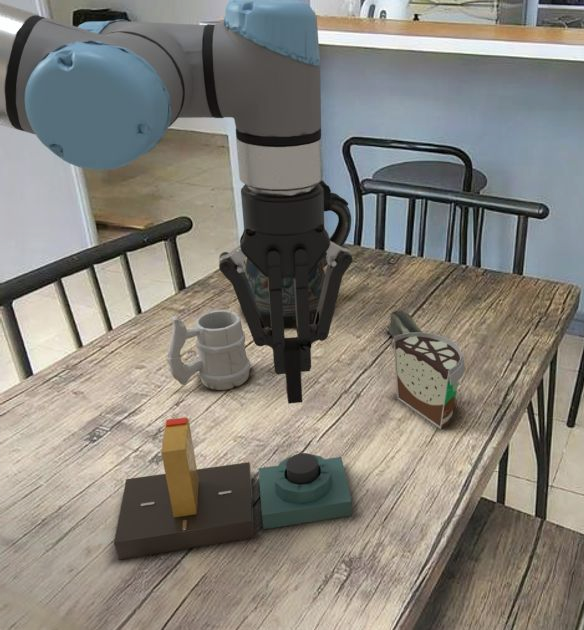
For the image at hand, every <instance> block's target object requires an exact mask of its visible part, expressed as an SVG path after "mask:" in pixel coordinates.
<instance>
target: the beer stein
mask: <svg viewBox="0 0 584 630" xmlns="http://www.w3.org/2000/svg"><path fill="white" fill-rule="evenodd" d="M319 184H320V185H321V186H322V187H323V195H324V213H325V212H329V211H330V212H333V213H335V215H337V218H338V220H337V221H338V222H337V225H336V226H335V230H334V232H333V233H332V235H331V236H330V237H329V238H330V241H331V242H333V243H335V244H337V245H339V246H341V245H345V243H346V241H347V240H348V237H349V235H350V231H351V228H352V215H351V214H352V213H351V210H350V208H349V203H348V201H347V200H346V199H345V198H343V197H341V196H339V194H337V193H335V192H332V190H331V188H330V186H329V185H327V184H326V183H325V181H324V180H323V179H322V180H321V181H320V182H319ZM326 256H327V253H325V254H324V255H323V257H322V258H321V259H320V261H319V262H318V264H317V265H316V266H315V268H314V269H313V271H312V272H311V273H310V274H308V284H309V288H308V294H309V316H310V325H312V324H314V321H315V317H316V312H317V308H318V304H319V299H320V295H321V291H322V287H323V282H324V278H325V274H326V271H325V269H324V268H325V267H327V266H328V264H327V261H326ZM245 263H246V269H245V271H244V272H245V275H246V277H247V280H248V283H249V285H250V288H251V291H252V294H253V296H254V299H255V302H256V304H257V307H258V310H259V313H260V315H261V318H262V321H263V324H264V326H265V328H271V318H270V303H269V289H268V277H266V276H264V275H263V274H262V273H261V272H260V271H259V270H258V269H257V268H256V267H255V266H254V264H253V263H252V262H251V261H250V260H249V259H248V258H247V257H246V260H245ZM281 281H282V302H283V319H284V329H293V328H297V326H296V309H295V291H294V278H285V279H282V280H281Z"/></svg>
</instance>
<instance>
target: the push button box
mask: <svg viewBox="0 0 584 630" xmlns="http://www.w3.org/2000/svg"><path fill="white" fill-rule="evenodd" d="M294 455H295V454H293V455H291V456H289V457H287V458H286V459H284V460H281V461H280V462H279V463H278V465H272V466H264V467H259V468H258V479H259V480H258V481H259V482H258V483H259V497H260V498H259V499H260V512H261V513H260V514H261V525H262V529H263V530H269V529H275V528H281V527H287V526H295V525H299V524H300V525H301V524H306V523H312V522H319V521H326V520H332V519H338V518H342V517H343V518H344V517H350V516H352V515H353V510H352V509H353V507H352V497H351V493H350V489H349V484H348V480H347V475H346V471H345V467H344V462H343V458H342V456H336V457H329V458H323V457H322V456H321V455H316V454H313V455H314V456H315V457H316V458H317V460H318V471H319V474H318V477H317V478H316V480H314V481H313V482H311V483H309V484H303V485H298V484H294V483H292V482H290V481H289V480H288V478H287V468H286V463H287V461H288V459H289V458H290V457H292V456H294Z"/></svg>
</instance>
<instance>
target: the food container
mask: <svg viewBox="0 0 584 630" xmlns="http://www.w3.org/2000/svg"><path fill="white" fill-rule="evenodd" d="M391 349H393V351H394V352H393V353H394V368H395V383H396V397H397V400H398V401H399V402H401V403H402V404H404V405H406V406H407V407H409V408H410V409H412V410H413V411H414V412H415V413H417V414H418V415H420V416H421V417H422V418H424V419H425V420H427V421H429V422H430V423H431V424H433V425H434V426H436V427H437V428H438V429H440V430H443V428H445V427H446V426H448V425H449V423H450V422H451V421H452V419H453V414H454V408H455V402H456V397H457V392H458V391H457V390H458V385H459V381H460V380H461V378H462V377H463V376H464V373H465V371H466V364H465V358H464V355H463V352H462V350H461V348H460V346H459V345H458V344H457V343H456V342H455V341H453V340H452V339H450V338H448V337H445V336H443V335H440V334H437V333H431V332H424V331H422V332H414V333H405V334H400V335H397V336H394V337H393V339H392V341H391Z"/></svg>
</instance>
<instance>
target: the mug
mask: <svg viewBox="0 0 584 630" xmlns="http://www.w3.org/2000/svg"><path fill="white" fill-rule="evenodd" d="M171 321H172V331H171V333H170V334H171V336H170V340H169V344H168V349H167V354H166V357H165V360H166V362H167V364H168V366H169V372H170V374H171V375H172V377H173V379H174V380H176V381H177V382H178V383H179V384H180V385H181V386H185V385H186V384H187V383H188V381H189V380H190V379H191V377H192V376H193V375H195V374H196V373H197V375H198V377H199V379H200V381H201V383H202V384H203V386H205V387H206V388H208V389H211V390H217V391H222V390H223V391H225V390H231V389H233V388H234V387H239V386H241V385H243V384H244V383H246V381H247V380H248V379H249V377H250V370H251V362H250V359H249V357H248V356H247V350H246V345H245V343H246V333H245V331H244V330H243V325H242V317H241V316H240V315H239V314H238V313H237V312H236V311H233V310H226V309H225V310H224V309H218V310H212V311H208V312H205V313H203V314H201V315H200V316H198V317H197V318H196V320H195V323H194V325H195V327H190V328H187V327H186V325H185V323H184V322H183V320H182V319H181V318H180V317H178V316H171ZM194 337H195V339H194V343H195V348H196V350H197V354H198V357H197V358H196V359H193V360H192V361H190V363H188V364H186V363H184V362H183V361H182V357H181V352H182V349H183V348H184V345H185V343H186V341H187V340H188V339H191V338H194Z"/></svg>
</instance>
